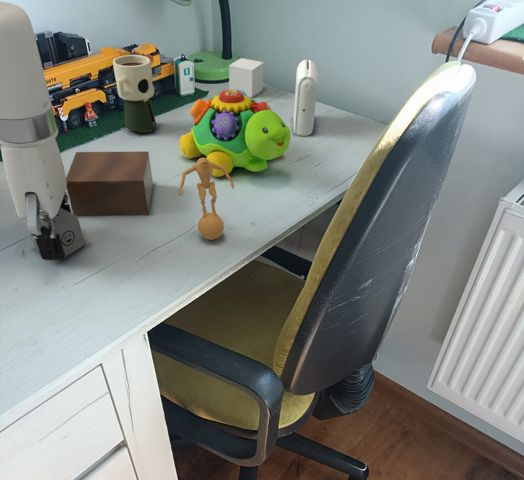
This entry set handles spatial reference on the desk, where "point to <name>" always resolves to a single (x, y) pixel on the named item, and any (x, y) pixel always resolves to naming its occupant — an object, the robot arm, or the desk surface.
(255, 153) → the turtle toy
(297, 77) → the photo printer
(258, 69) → the white cube
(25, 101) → the robot arm
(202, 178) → the figurine
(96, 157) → the walnut block
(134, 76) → the character mug
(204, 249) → the desk surface
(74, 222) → the dice cube
